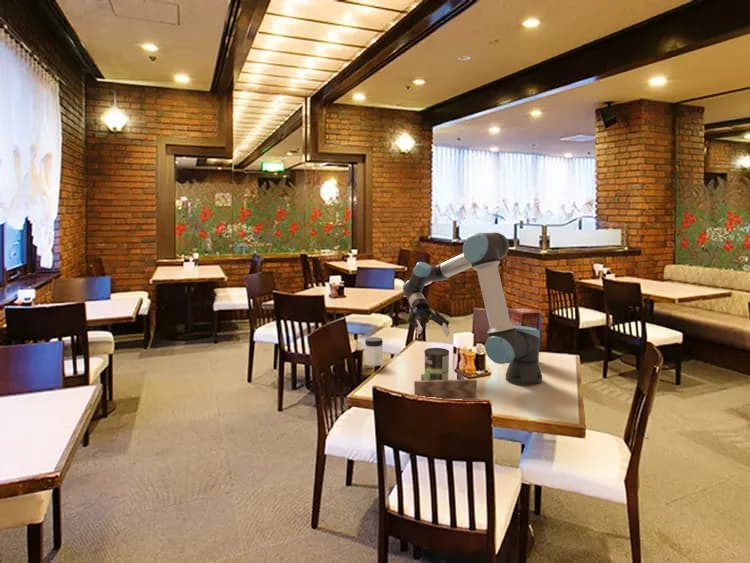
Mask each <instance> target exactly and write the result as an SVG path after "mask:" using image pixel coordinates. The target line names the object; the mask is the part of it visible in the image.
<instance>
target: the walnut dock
mask: <svg viewBox="0 0 750 563" xmlns="http://www.w3.org/2000/svg"><path fill="white" fill-rule="evenodd" d="M420 375H421V377H420V378H421V379H420V380H414V381H413V382H414V385H413V387H414V389H413V391H414V394H413V396H414V395H417V396H425V397H436V398H454V399H476V398H477V382H478V381H477V378H474V379H473V378H471V379H470V378H469V379H468V378H467V379H466V378H465V377H464V376H463V374H462V373H461V372H457V373H456V379H448V380H428V379H427V377H426V375H425V373H422V374H420Z"/></svg>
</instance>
